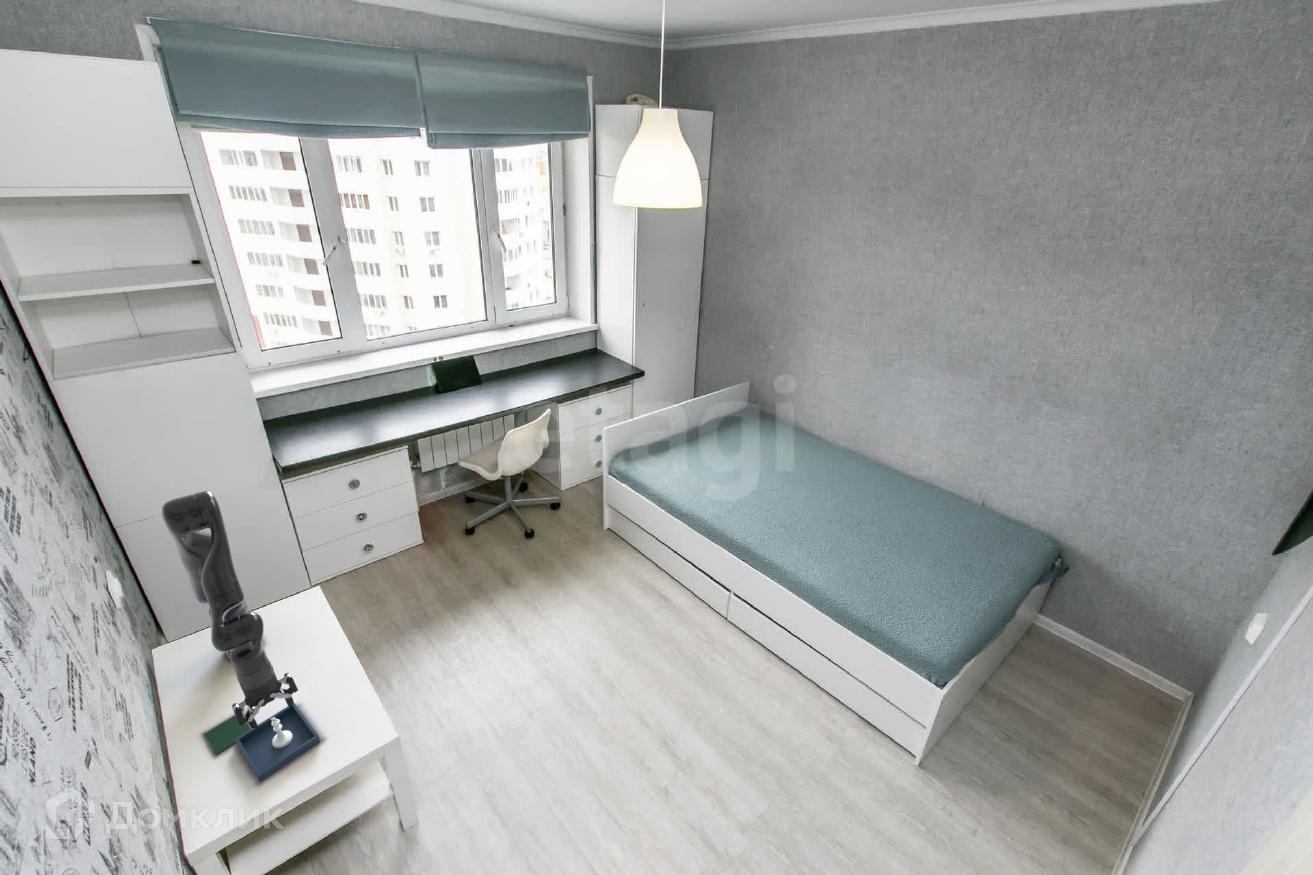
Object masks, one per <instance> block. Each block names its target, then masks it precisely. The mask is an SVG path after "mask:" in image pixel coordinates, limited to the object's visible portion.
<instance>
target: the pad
mask: <svg viewBox="0 0 1313 875" xmlns="http://www.w3.org/2000/svg"><path fill="white" fill-rule="evenodd" d="M250 729H251V727H250V725H249V723H248V722H245V723H244V724H243V725H240V724H239V722H238V721H237V719H236V717H235V715H232V716H231V717H229V718H228V719H226V720H224V721H222V722H221V723H219V724H218V725H216V726H215V727H213V728H211V729H209V730H208V731H205V733H203V734H204V736H205V738H206V740H207V741H208V743H209V745H210V747H211V748H212V750H213V752H214V754H215V756H218V755H219V754H221V753H222V752H224V751H225V750H227V749H229V748H230V747H232V746H234V745H236V742H235V740H234V739H236V738H237V737H239V736H241V735H242V734H244V733H245V732H247V731H249V730H250Z"/></svg>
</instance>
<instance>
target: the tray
mask: <svg viewBox="0 0 1313 875" xmlns="http://www.w3.org/2000/svg"><path fill="white" fill-rule="evenodd" d="M273 717H275V719H279V720H280V723H279V724H281V725H282V728H281V730H282V731H290V732H291V733H292V735H293V738H292V740H291V742H290V743H289V744H288V745H286V746H285V747H282V748H275V747H274V746H273V745H272V740H273V738H274V736H275V735H276V734H277V731H274V730H273V728H274V726H272V725H271V723H272V721H273V720H271V718H273ZM257 725H258V728H256V729H255V728H253V729H252V728H250V730H249V731H247V732H245V733H244V734H242V735H241V736H239V737H237V738H236V739H234V740H235V742H236V743H235V745H236V746H237V748H238V749H239V751H240V752H241V754H242V756H243V758H244V759H245V761H246V762H247V764H248V766H249V767H250V769H251V771H252V773H253V774H254V775H255V777H256V778H257V780H258V782H259V783H262V782H264V781H265V780H266V779H268V778H269V777H271V776H272V775H274V774H275V773H276V772H278V771H280V770H281V769H283V768H284V767H285V766H286V765H289V763H291V762H293V761H294V760H296V759H297V758H298V757H300V756H302V755H303V754H305V753H306V752H307V751H309V750H311V749H312V748H313V747H315V746H316V745H318V744H319V743H320V742H321V739H320V736H319V734H318V733H317V731H316V730H315V728H313V726H312V724H311V723H310V722H309V720H308V719H307V718H306V716H305V715H304V714H303V712H302V711H301V710H300V708H299V707H298V706H297V704H296V703H295V702H294V703H293V704H292V707H290V708H289V706H288V705H287V706H285V707H283V709H281V710H279V711H278V712H276V713H274V714H273V715H272V716H270V717H268V718H266V719H265V720H263V721H261V722H260V723H259V724H258V723H257Z"/></svg>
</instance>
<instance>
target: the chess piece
mask: <svg viewBox="0 0 1313 875" xmlns="http://www.w3.org/2000/svg"><path fill="white" fill-rule="evenodd" d="M271 720H273V721H272V723H271V725H272V726H274V728H273V730H274V731H277V734H276V735H275V736H274V738H273V740H272V745H273V746H274V747H275V748H282V747H285V746H286V745H288V744H289V743H290V742H291V740H292V738H293V735H292V733H291V732H290V731H282V730H281V728H282V725H281V724H279V723H280V720H279V719H275V717H273V718H271Z"/></svg>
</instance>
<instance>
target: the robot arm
mask: <svg viewBox="0 0 1313 875" xmlns="http://www.w3.org/2000/svg"><path fill="white" fill-rule="evenodd" d="M161 516H162V520H163V522H164V524H165V525H164V526H166V528H167V530H168V532H169V534H170V536H171V537H172V539H173V541H174V543H175V545H176V547H177V552H178V555H179V559H180V561H181V563H182V566H183V567H184V569H185V571H186V573H187V575H188V576H187V577H188V580H189V584H190V588H191V591H192V594H193V596H194V598H195V599H196V601H198V602H199V603H200V604H202V605H208V615H209V618H210V619H211V621H210V622H211V628H210V629H211V630H210V639H211V644H212V646H213V648H214V649H215V650H216V651H219V652H220V653H221V652H222V653H225V654H226V657H227V658H228V659H229V660H230V662H231V665H232V667H233V669H234V671H235V675H236V679H237V681H238V684H239V686H240V689H241V690H242V693H243V695H244V700H243V701H241V702H239V703H237V702H234V703H233V704H232V705H231V708H232V710H233V714H234V716H235V717H236V719H237V721H238V722H239V724H240V725H243V724H244V723H245V722H247V724H248V725H249V727H250V729H253V728H255V729H256V728H258V722H257V720H256V718H255V717H256V715H257V714H259V711H260V709H261V708H263V707H265V706H266V705H267V704H269V703H271V702H274V701H275V700H276V699H284V701H285V703H286V705H287V706H289V708H290V707H292V704H293V703H295V701H294V698H293V694H294V693H297V692H298V691H299V687H298V686H297V684H296V682H295V681H294V680H295V679H294V678H293V676H292V675H291V674H290V673H289V672H286V673H284V674H283V677H282V678H280V679H278V677H277V675H276V672H275V670H274V666H273V665H272V662H271V660H270V659H269V658H268V655H267V653H266V650H265V647H264V631H265V628H264V627H265V625H264V624H265V623H264V620H263V618H262V616H261V615H260V614H259V613H258V612H256V611H250V610H249V608H248V605H247V603H246V601H245V594H244V591H243V590H242V586H241V584H240V581H239V579H238V578H239V577H238V575H237V573H236V568H235V566H234V563H233V562H234V561H233V558H232V552H231V549H230V542H229V539H228V534H227V530H226V526H225V522H224V518H223V513H222V510H221V507H220V504H219V502H218V500H217V498H216V496H215V495H214V493H213V492H211V491H210V490H205V491H204V490H203V491H199V492H196V493H192V494H187V495H184V496H180V497H176V498H173V499H170V500H168V501H166V502H165V503H164V504H163V505H162V507H161ZM207 529H209V530H210V532H208V531H206V530H207ZM283 684H284V685H286V686H287V685H288V687H287V688H282V686H283ZM246 706H247V707H246ZM245 707H246V708H247V709H246V711H245ZM244 711H245V712H244ZM243 712H244V714H243Z"/></svg>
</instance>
